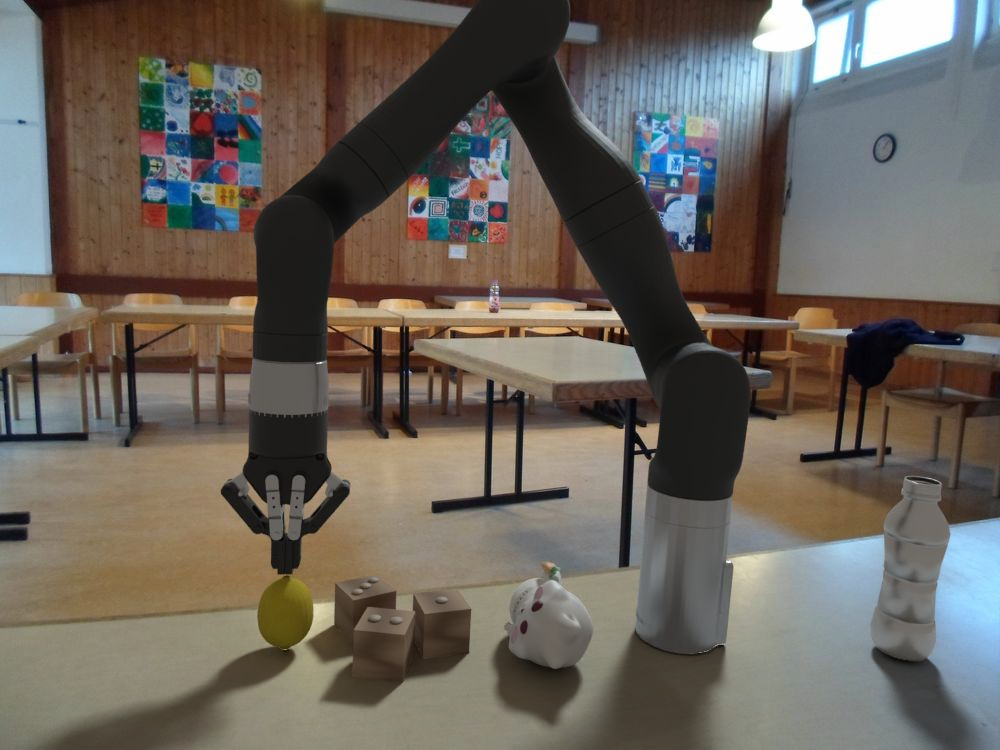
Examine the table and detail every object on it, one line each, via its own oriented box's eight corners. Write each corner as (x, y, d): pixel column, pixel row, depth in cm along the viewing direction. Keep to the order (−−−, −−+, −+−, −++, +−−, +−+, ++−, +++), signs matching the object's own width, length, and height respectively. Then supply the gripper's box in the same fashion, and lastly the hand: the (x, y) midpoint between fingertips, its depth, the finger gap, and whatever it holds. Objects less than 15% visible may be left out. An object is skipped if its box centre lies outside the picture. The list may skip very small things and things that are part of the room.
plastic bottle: (929, 648, 83) (953, 478, 80) (936, 676, 77) (962, 493, 74) (866, 634, 85) (887, 469, 83) (868, 659, 79) (891, 482, 77)
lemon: (297, 667, 71) (298, 590, 70) (246, 659, 73) (247, 583, 71) (321, 641, 77) (323, 569, 76) (274, 633, 78) (275, 562, 77)
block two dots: (413, 656, 75) (415, 609, 74) (402, 683, 70) (404, 632, 69) (366, 652, 75) (367, 605, 75) (352, 678, 70) (353, 627, 70)
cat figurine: (528, 541, 83) (562, 580, 69) (584, 576, 85) (630, 622, 70) (483, 613, 83) (508, 668, 68) (541, 647, 84) (577, 708, 69)
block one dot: (455, 631, 81) (457, 587, 80) (469, 653, 76) (471, 606, 75) (411, 636, 79) (413, 591, 78) (422, 660, 74) (424, 612, 74)
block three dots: (375, 615, 83) (376, 572, 83) (394, 633, 79) (396, 589, 79) (334, 625, 81) (335, 581, 80) (352, 645, 77) (353, 598, 76)
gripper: (358, 399, 76) (352, 557, 79) (226, 395, 74) (224, 558, 76) (356, 413, 69) (350, 586, 71) (210, 409, 67) (209, 588, 69)
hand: (285, 571), depth 74 cm, fingers closed
